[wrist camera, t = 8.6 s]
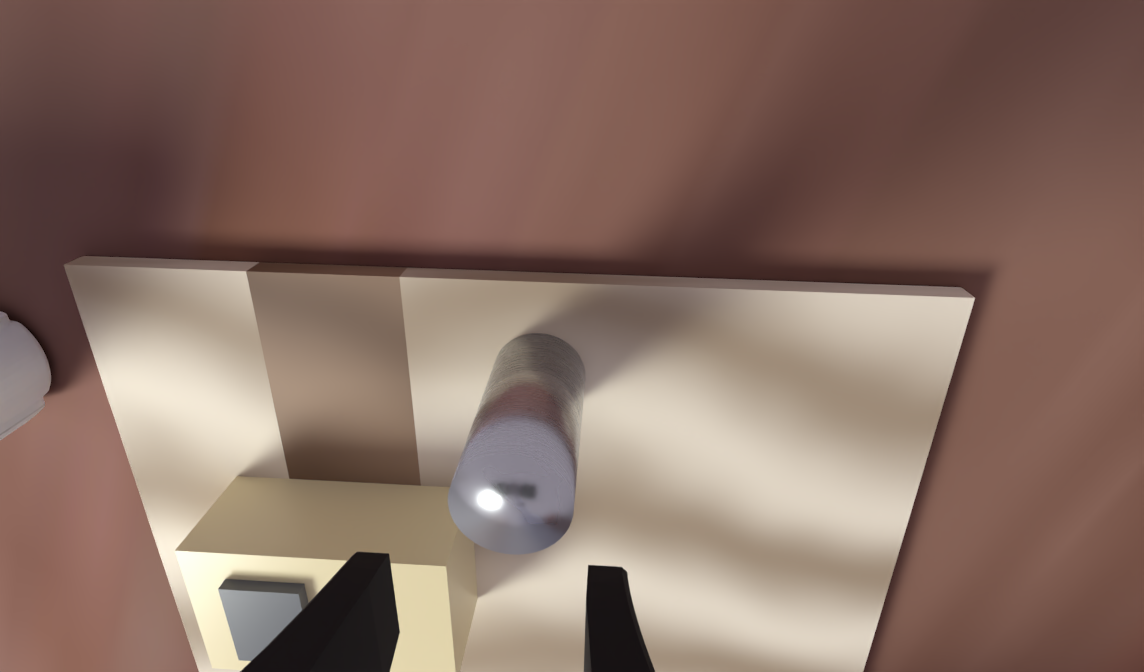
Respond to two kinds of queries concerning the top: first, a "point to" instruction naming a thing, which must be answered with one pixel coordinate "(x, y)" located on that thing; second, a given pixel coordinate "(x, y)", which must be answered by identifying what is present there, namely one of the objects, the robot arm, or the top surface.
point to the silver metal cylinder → (522, 449)
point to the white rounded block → (20, 375)
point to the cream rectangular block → (327, 564)
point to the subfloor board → (607, 442)
